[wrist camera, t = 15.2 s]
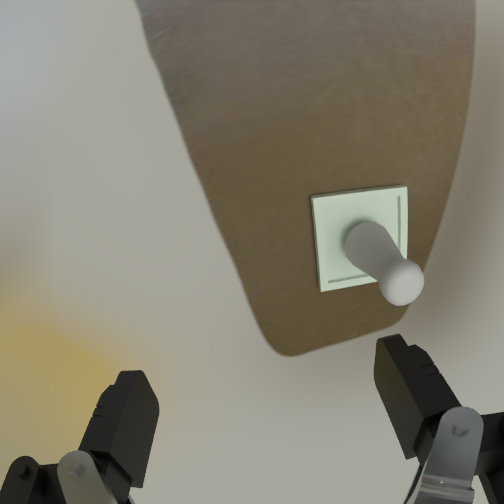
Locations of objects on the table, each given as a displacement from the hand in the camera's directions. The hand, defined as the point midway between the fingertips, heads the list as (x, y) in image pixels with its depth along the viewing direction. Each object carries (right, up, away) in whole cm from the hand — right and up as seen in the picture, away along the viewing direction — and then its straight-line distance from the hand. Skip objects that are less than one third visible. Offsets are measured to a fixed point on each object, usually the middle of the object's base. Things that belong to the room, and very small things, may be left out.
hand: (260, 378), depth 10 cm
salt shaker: (+13, +6, +28) cm, 31 cm away
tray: (+13, +6, +28) cm, 32 cm away
